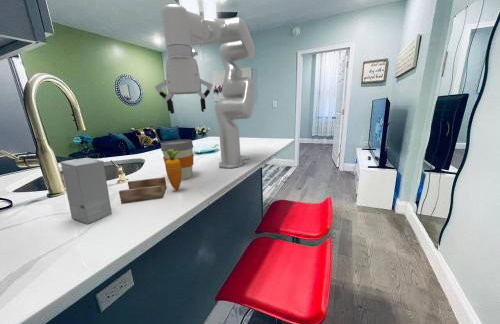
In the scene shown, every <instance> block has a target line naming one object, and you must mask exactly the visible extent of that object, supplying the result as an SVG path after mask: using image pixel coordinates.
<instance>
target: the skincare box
mask: <svg viewBox="0 0 500 324" xmlns="http://www.w3.org/2000/svg"><path fill="white" fill-rule="evenodd" d="M60 165H61V170H62V175H63V180H64V185H65V190H66V191H65V192H66V195H67V200H68V201H67V202H68V207H69V211H70V216H71V219H73V220H77V221H79V222H81V223H82V224H83V223H84V224H86V225H88V224H91V223H94V222H96V221H98V220H100V219H103V218H106V217H108V216H110V215H112V213H113V212H112V208H111V200H110V193H109V188H108V187H109V186H108V181H107V176H106V175H107V174H106V168H105V162H104V160H102V159H98V158H91V157H84V158H83V157H82V158H77V159H70V160H63V161H60Z"/></svg>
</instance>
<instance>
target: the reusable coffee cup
mask: <svg viewBox="0 0 500 324" xmlns="http://www.w3.org/2000/svg"><path fill="white" fill-rule="evenodd" d="M160 148H161V149H160V151H161V153H162V154H163V162H164V163H165V162H166V161H167V160H168V159H170V157H169V155H168V154H167V151H169V149H171V150H172V149H174V154H175V152H176V151H179V152H178V153H177V154H176V156H175V159H179V160H180V162H181V181H183V180H187V179H190V178H192V177H193V165H194V153H193V152H194V151H193V148H194V144H193V141H192V139H175V140H174V139H173V140H168V141H167V140H166V141H163V142H161V143H160Z"/></svg>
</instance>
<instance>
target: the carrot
mask: <svg viewBox="0 0 500 324" xmlns="http://www.w3.org/2000/svg"><path fill="white" fill-rule="evenodd" d="M178 152H179V151H176V152H175V154H174V149H172V150H171V149H169V151H167V154H168V155H169V157H170V159H168V160H167V161H166V162H164V165H165V171H166V176H167V178H168V181H169V183H170V185H171V186H172V188H173V189H174V190H175V191H176V192H177V191H179V189H180V186H181V182H182V180H181V162H180V160H179V159H175V156H176V154H177V153H178Z"/></svg>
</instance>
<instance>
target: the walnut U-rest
mask: <svg viewBox="0 0 500 324" xmlns="http://www.w3.org/2000/svg"><path fill="white" fill-rule="evenodd" d="M127 185H128V189H122V190H119V191H118V194H119V200H120V203H121V205H123V204H129V203H137V202H143V201H150V200H156V199H157V200H159V199H162V198H164V195H165V194H166V193H165V192H166V189H167V181H166V177H165V176H163V177H155V178H146V179H138V180H130V181H127Z"/></svg>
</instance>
